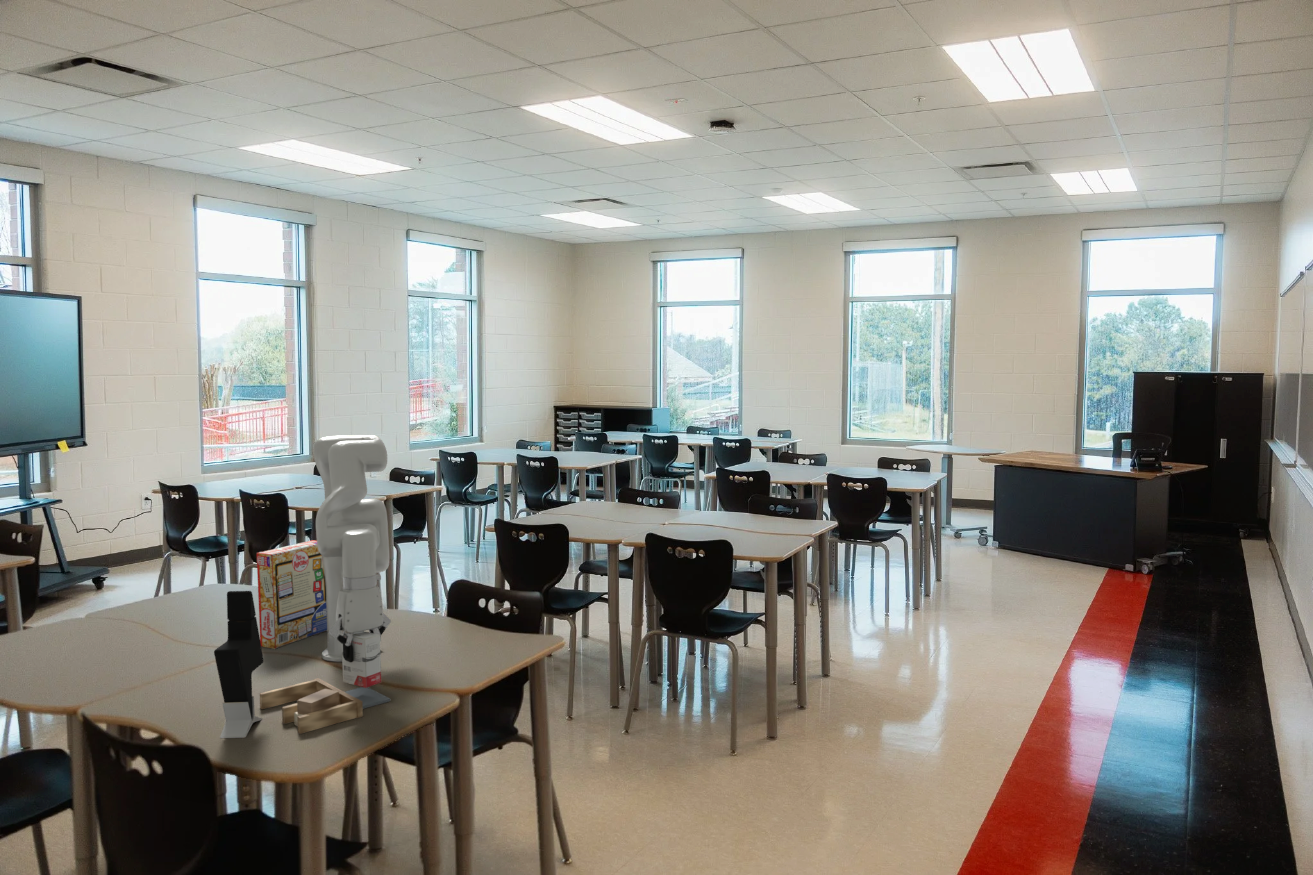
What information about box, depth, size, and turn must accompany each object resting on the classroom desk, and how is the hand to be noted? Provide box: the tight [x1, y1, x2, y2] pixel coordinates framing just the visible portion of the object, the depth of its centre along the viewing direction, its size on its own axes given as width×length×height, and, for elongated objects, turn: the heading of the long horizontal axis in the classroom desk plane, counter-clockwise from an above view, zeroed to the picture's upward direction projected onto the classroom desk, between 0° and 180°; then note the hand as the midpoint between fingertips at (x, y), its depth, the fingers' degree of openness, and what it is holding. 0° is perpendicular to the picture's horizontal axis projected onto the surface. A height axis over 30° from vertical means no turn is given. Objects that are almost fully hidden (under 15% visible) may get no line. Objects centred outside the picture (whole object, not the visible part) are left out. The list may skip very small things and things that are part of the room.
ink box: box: [341, 630, 382, 688], centre depth 216 cm, size 9×5×12 cm, turn 57°
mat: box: [344, 686, 391, 710], centre depth 217 cm, size 8×12×1 cm, turn 45°
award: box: [213, 590, 264, 739], centre depth 198 cm, size 15×5×30 cm, turn 5°
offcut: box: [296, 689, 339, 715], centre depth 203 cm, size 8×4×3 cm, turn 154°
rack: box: [259, 677, 364, 735], centre depth 208 cm, size 14×22×4 cm, turn 45°
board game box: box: [256, 539, 327, 650], centre depth 264 cm, size 20×6×27 cm, turn 154°
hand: (361, 657), depth 216 cm, fingers closed on ink box, 5 cm apart
